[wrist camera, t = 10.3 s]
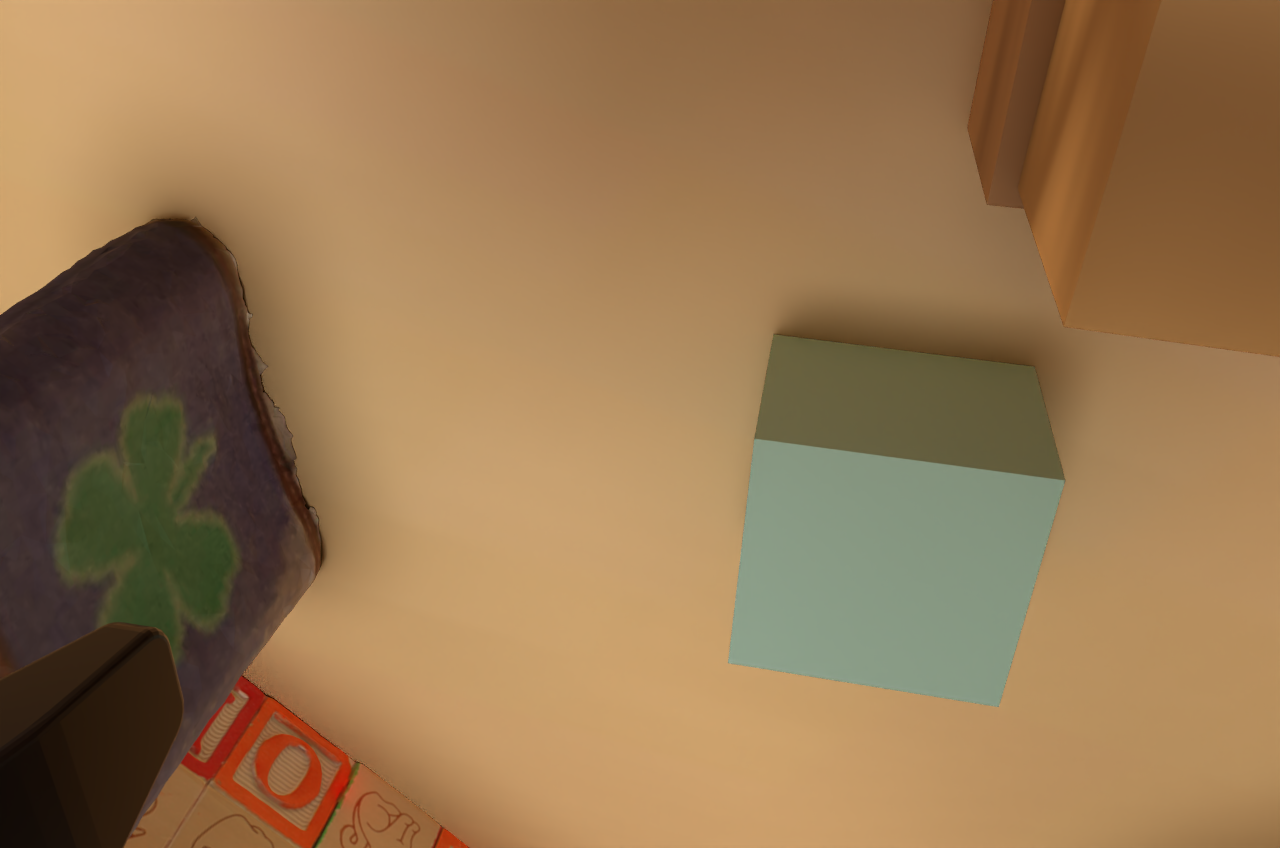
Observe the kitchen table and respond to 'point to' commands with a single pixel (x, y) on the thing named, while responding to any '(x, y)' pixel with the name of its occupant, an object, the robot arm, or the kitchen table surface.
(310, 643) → the kitchen table surface
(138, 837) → the stack of blocks
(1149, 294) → the oak cube
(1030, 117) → the walnut block
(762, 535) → the tower base
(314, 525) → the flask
